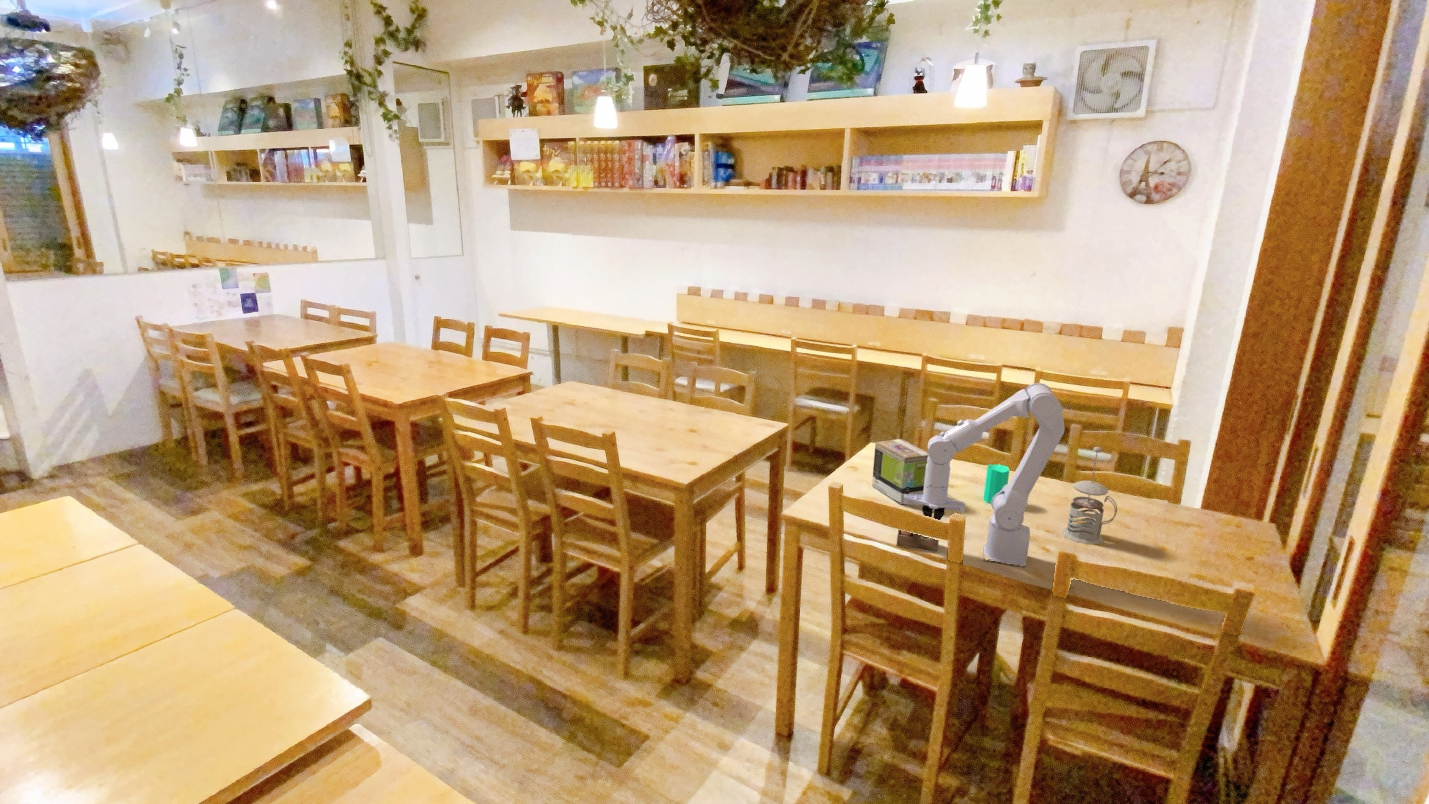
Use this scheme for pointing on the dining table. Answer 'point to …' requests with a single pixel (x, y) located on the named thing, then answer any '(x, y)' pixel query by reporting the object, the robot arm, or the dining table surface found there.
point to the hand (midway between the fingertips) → (930, 532)
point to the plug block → (917, 542)
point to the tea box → (899, 469)
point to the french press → (1087, 530)
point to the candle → (995, 481)
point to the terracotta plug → (905, 533)
